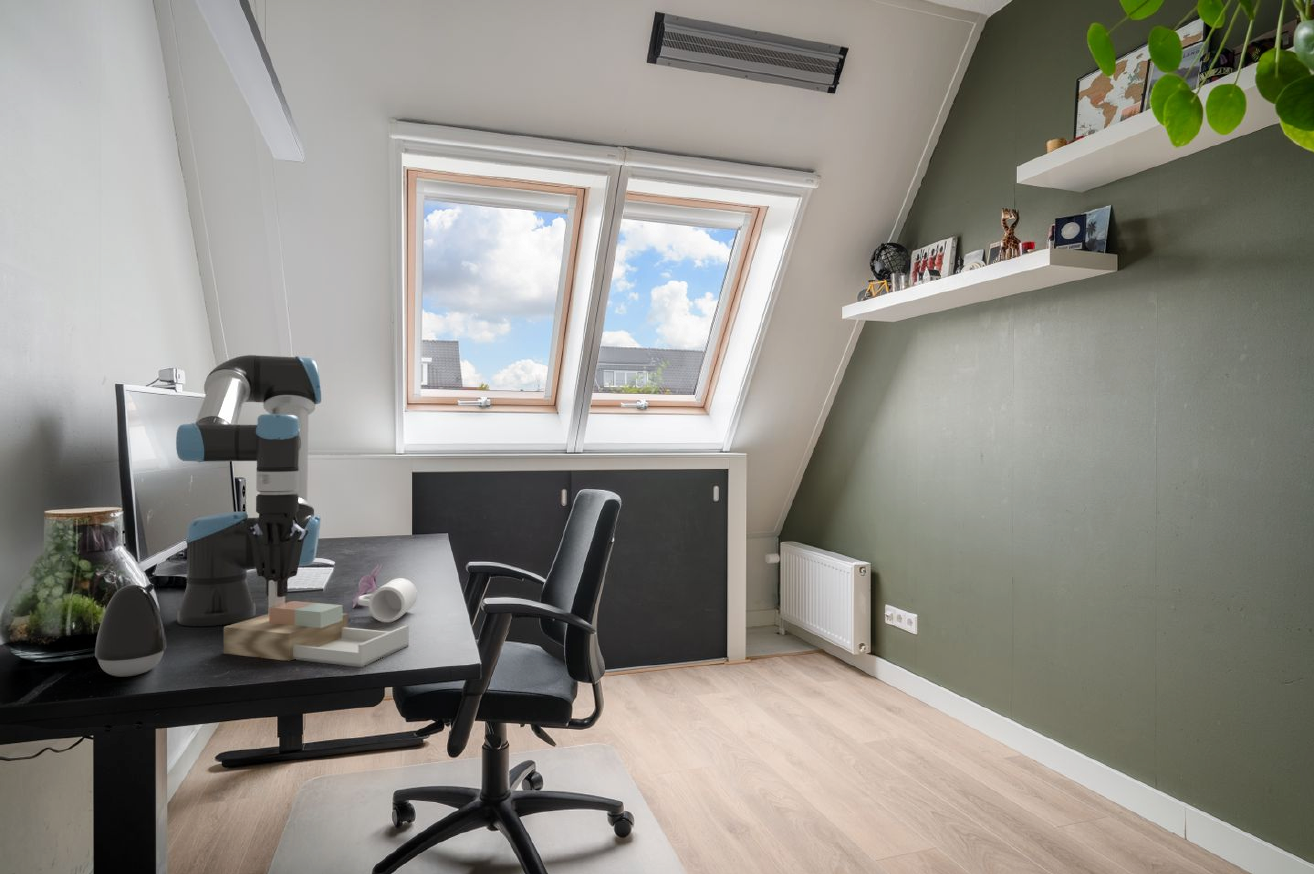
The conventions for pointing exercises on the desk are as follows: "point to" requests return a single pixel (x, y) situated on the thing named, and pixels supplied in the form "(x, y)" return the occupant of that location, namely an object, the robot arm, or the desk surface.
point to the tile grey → (318, 615)
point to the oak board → (276, 637)
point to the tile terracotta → (285, 612)
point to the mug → (390, 600)
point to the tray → (355, 647)
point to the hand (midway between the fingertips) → (276, 612)
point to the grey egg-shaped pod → (130, 633)
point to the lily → (367, 584)
